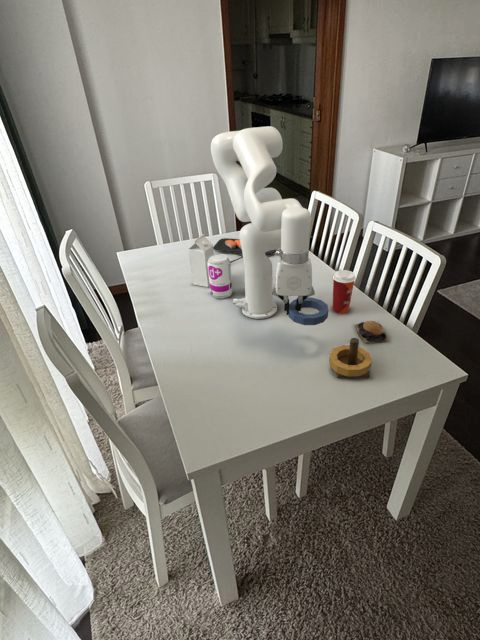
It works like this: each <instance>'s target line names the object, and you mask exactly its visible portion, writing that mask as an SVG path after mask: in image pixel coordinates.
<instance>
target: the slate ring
mask: <svg viewBox="0 0 480 640" xmlns="http://www.w3.org/2000/svg"><path fill="white" fill-rule="evenodd" d="M296 299H297V298H295V299H293V300H292V301H291V302H289V315H288V318H289V319H290V320H291V321H292V322H293V323H295V324H299V325H301V326H316V325H320V324H323V323H324V322H325V321H326V320H327V319H328V318H329V312H330V311H329V305H328V304H327V303H326V302H325V301H323V300H322V299H319V298H315V297H313V296H310V297H307V298H306V299H305V300H304V301H303V302H302V303H301V309H305V308H306V309H307V308H308V309H309V308H310V309H314V310H317V311H318V312H315V313H312V314H311V313H310V314H309V313H307V314H306V313H303V312H301V311H299V312H298V311H297V310H296Z"/></svg>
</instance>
